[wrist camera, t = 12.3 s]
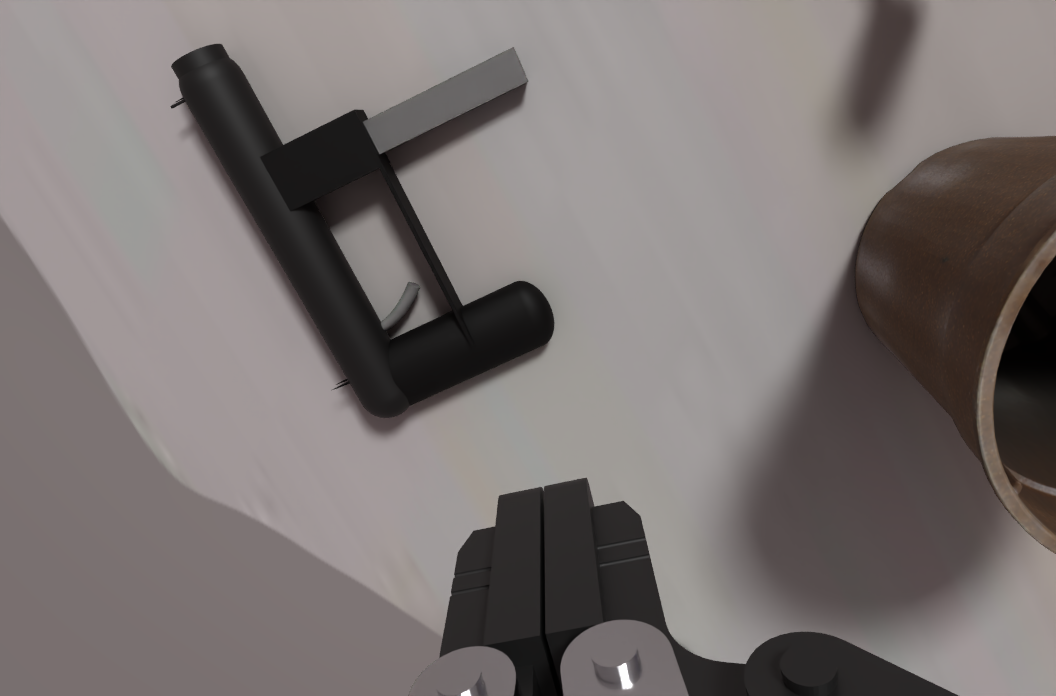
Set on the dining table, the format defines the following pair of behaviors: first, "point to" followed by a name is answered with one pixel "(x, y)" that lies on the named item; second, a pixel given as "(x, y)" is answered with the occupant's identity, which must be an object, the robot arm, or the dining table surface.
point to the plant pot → (977, 305)
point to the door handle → (314, 255)
